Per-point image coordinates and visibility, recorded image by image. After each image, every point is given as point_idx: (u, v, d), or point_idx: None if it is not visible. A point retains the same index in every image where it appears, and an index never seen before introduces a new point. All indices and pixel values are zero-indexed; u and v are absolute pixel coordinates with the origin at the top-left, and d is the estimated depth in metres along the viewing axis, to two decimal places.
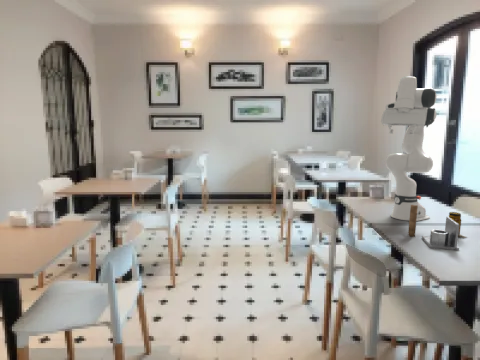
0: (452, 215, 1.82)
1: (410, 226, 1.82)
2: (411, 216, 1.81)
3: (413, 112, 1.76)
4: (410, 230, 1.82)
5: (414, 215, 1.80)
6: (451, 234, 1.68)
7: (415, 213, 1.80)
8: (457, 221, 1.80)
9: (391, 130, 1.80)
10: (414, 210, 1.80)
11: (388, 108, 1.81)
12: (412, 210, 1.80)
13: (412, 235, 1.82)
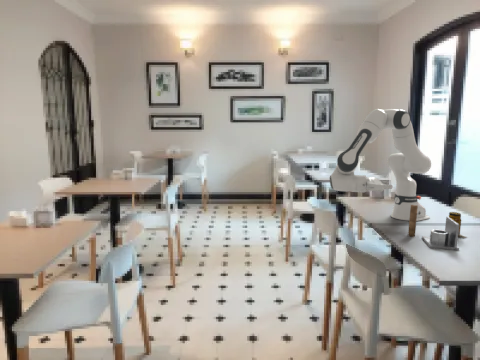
0: (452, 215, 1.82)
1: (410, 226, 1.82)
2: (411, 216, 1.81)
3: None
4: (410, 230, 1.82)
5: (414, 215, 1.80)
6: (451, 234, 1.68)
7: (415, 213, 1.80)
8: (457, 221, 1.80)
9: (386, 185, 1.87)
10: (414, 210, 1.80)
11: None
12: (412, 210, 1.80)
13: (412, 235, 1.82)
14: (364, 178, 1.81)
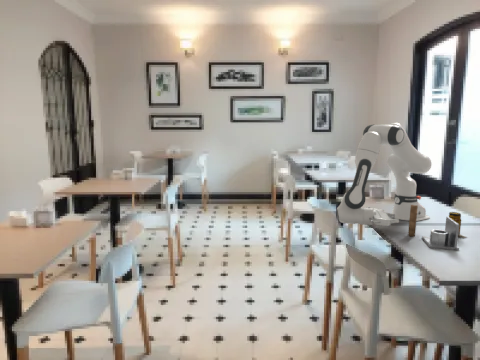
0: (452, 215, 1.82)
1: (410, 226, 1.82)
2: (411, 216, 1.81)
3: None
4: (410, 230, 1.82)
5: (414, 215, 1.80)
6: (451, 234, 1.68)
7: (415, 213, 1.80)
8: (457, 221, 1.80)
9: None
10: (414, 210, 1.80)
11: None
12: (412, 210, 1.80)
13: (412, 235, 1.82)
14: (371, 211, 1.83)
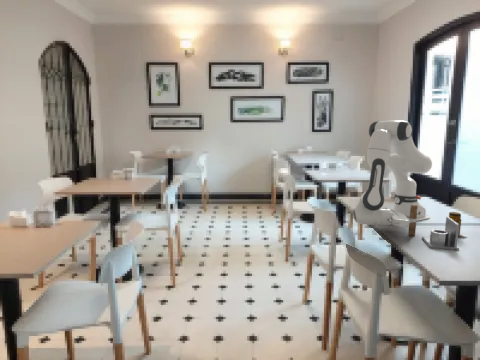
0: (452, 215, 1.82)
1: (410, 226, 1.82)
2: (411, 216, 1.81)
3: None
4: (410, 230, 1.82)
5: (414, 215, 1.80)
6: (451, 234, 1.68)
7: (415, 213, 1.80)
8: (457, 221, 1.80)
9: None
10: (414, 210, 1.80)
11: None
12: (412, 210, 1.80)
13: (412, 235, 1.82)
14: (389, 212, 1.81)
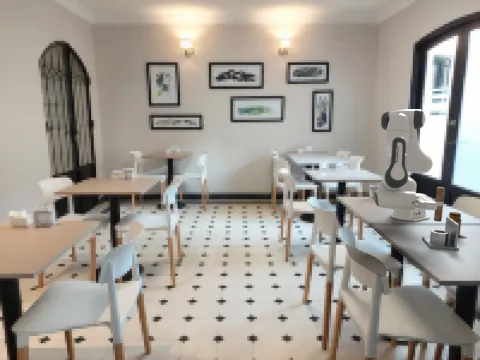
0: (452, 215, 1.82)
1: (436, 210, 1.69)
2: (438, 199, 1.68)
3: None
4: (436, 214, 1.69)
5: (441, 198, 1.67)
6: (451, 234, 1.68)
7: (442, 196, 1.67)
8: (457, 221, 1.80)
9: None
10: (441, 193, 1.67)
11: None
12: (438, 193, 1.67)
13: (438, 220, 1.69)
14: (413, 195, 1.68)
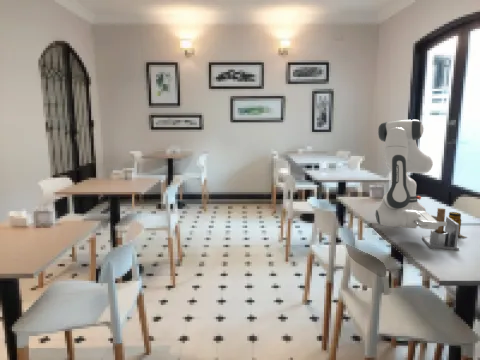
0: (452, 215, 1.82)
1: (437, 231, 1.70)
2: (438, 220, 1.69)
3: None
4: None
5: (442, 219, 1.68)
6: (451, 234, 1.68)
7: (443, 217, 1.68)
8: (457, 221, 1.80)
9: None
10: (442, 214, 1.68)
11: None
12: (439, 214, 1.69)
13: None
14: (415, 214, 1.69)
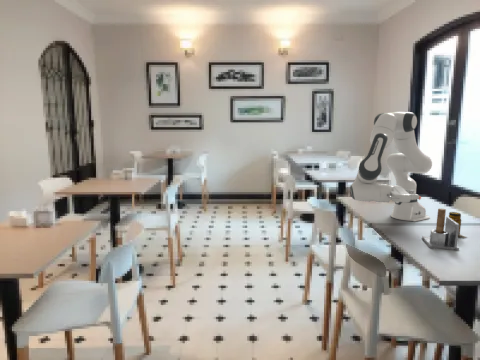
0: (452, 215, 1.82)
1: (437, 231, 1.69)
2: (439, 221, 1.68)
3: None
4: None
5: (442, 220, 1.67)
6: (451, 234, 1.68)
7: (443, 218, 1.67)
8: (457, 221, 1.80)
9: None
10: (442, 214, 1.67)
11: None
12: (439, 215, 1.68)
13: None
14: (388, 187, 1.69)
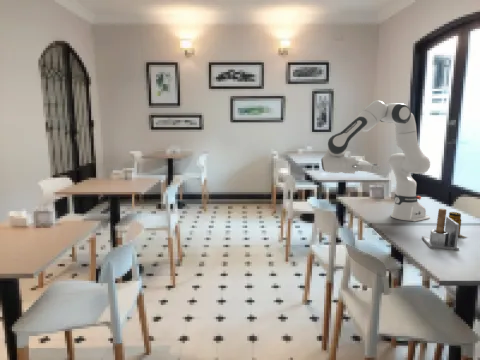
0: (452, 215, 1.82)
1: (438, 231, 1.69)
2: (439, 221, 1.68)
3: None
4: None
5: (442, 220, 1.67)
6: (451, 234, 1.68)
7: (444, 218, 1.67)
8: (457, 221, 1.80)
9: None
10: (443, 215, 1.67)
11: None
12: (440, 215, 1.68)
13: None
14: (353, 160, 1.91)
